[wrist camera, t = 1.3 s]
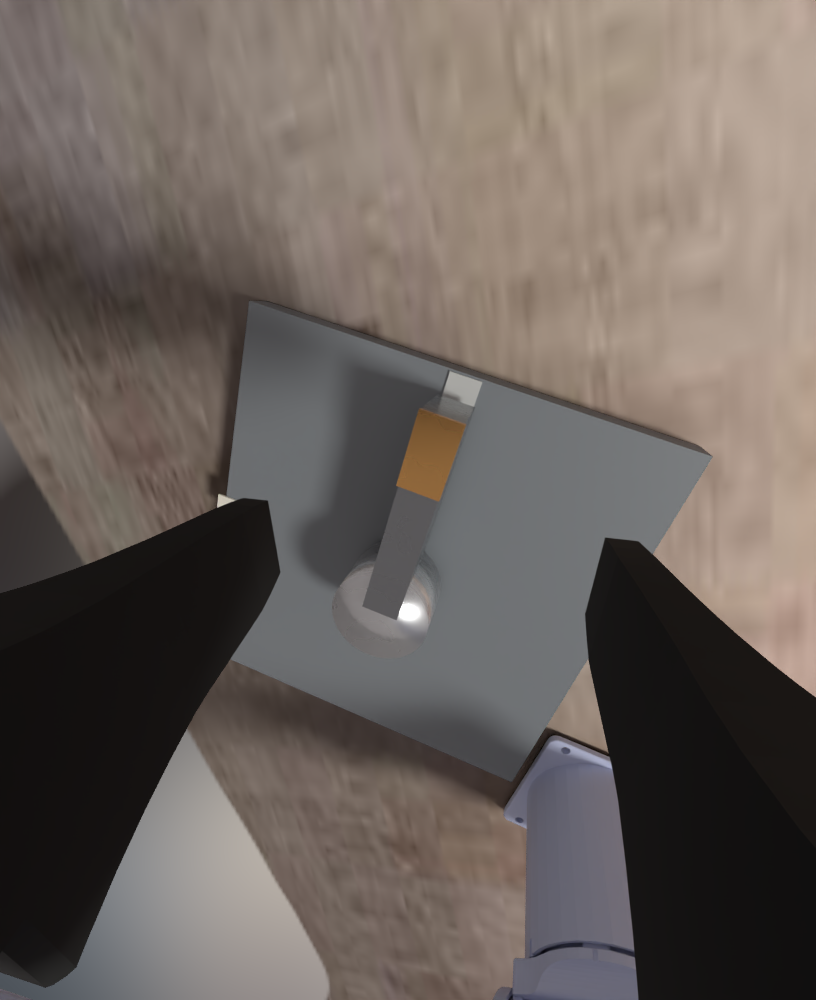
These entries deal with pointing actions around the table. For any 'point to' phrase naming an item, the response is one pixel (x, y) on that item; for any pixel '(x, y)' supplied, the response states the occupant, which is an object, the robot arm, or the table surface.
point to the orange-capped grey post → (405, 543)
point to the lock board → (437, 529)
